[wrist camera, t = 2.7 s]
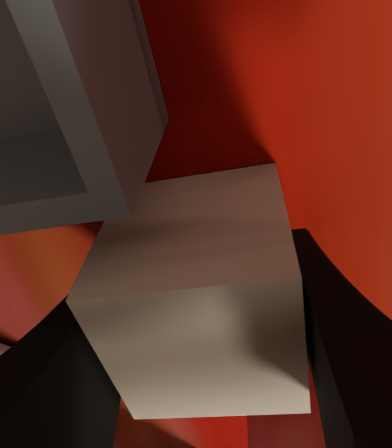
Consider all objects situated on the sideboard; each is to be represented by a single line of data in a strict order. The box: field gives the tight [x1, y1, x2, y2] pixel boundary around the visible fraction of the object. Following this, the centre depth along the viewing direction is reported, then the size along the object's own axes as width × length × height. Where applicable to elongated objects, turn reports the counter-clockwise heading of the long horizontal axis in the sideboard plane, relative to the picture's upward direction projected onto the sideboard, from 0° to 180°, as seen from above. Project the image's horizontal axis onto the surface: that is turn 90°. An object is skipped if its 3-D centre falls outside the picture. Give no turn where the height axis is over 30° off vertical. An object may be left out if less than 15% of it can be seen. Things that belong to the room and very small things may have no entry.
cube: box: [66, 163, 311, 419], centre depth 11 cm, size 5×5×5 cm
